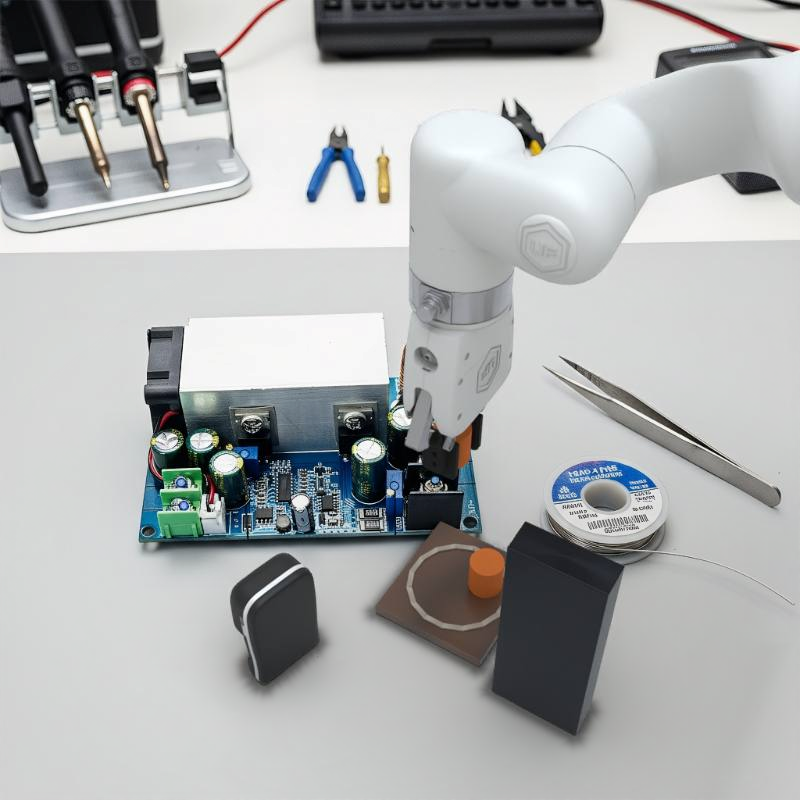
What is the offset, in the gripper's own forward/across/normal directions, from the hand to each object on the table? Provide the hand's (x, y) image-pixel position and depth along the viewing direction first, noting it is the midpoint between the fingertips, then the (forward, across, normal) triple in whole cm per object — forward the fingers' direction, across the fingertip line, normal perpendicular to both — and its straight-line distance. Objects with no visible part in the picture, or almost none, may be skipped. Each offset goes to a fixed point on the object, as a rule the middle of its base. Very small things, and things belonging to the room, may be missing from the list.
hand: (451, 455), depth 84 cm
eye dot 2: (+15, 0, -4) cm, 16 cm away
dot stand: (+16, -8, -14) cm, 23 cm away
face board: (+16, -2, -2) cm, 17 cm away
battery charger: (+17, -16, +8) cm, 24 cm away
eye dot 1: (0, 0, 0) cm, 0 cm away
